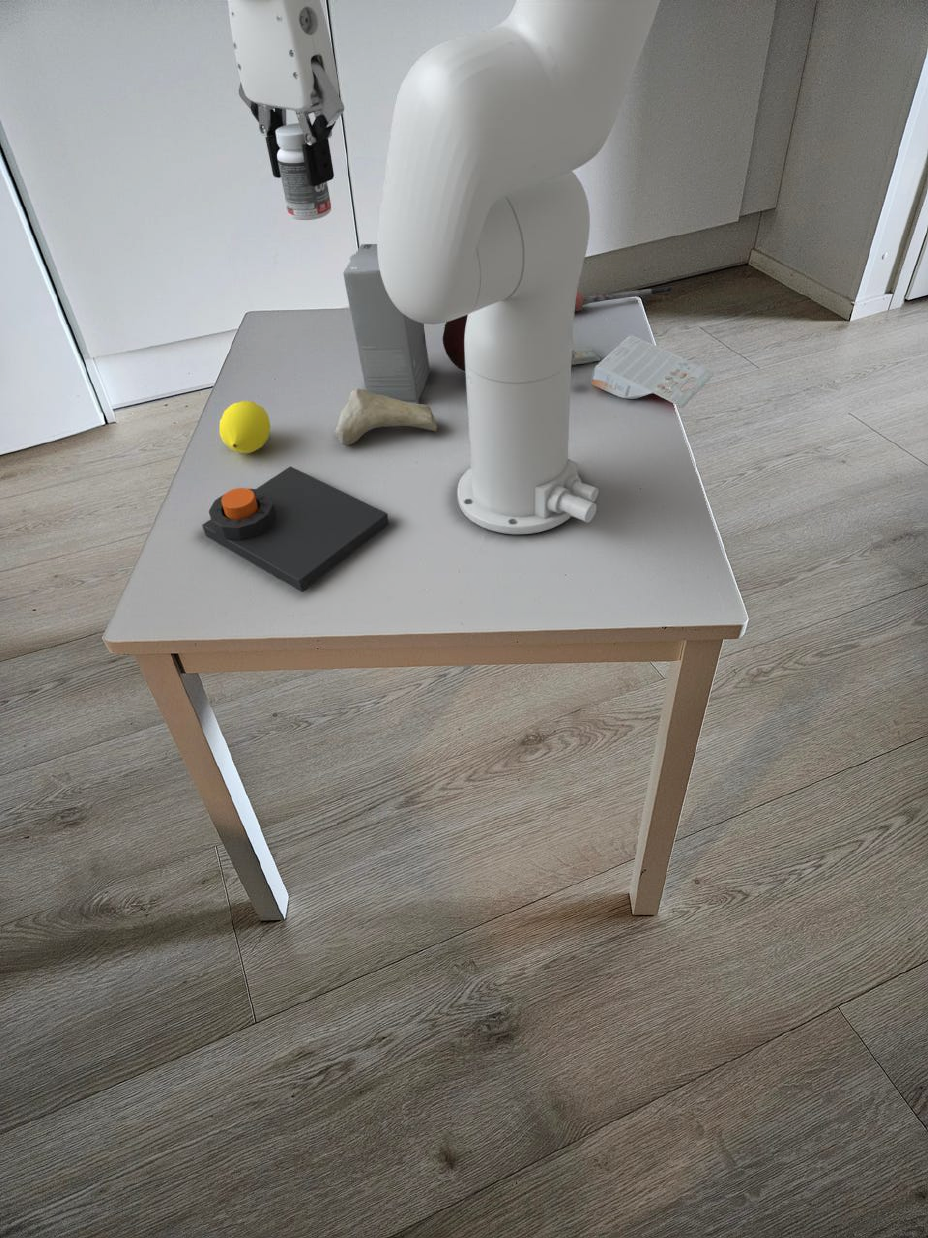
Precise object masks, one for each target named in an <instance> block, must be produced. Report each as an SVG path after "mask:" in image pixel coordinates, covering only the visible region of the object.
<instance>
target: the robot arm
mask: <svg viewBox="0 0 928 1238" xmlns="http://www.w3.org/2000/svg"><path fill="white" fill-rule="evenodd" d="M660 3H661V0H515V3H514V6H513V8H512V10H511V12H510V14H509V15H508V16H507V17H506V19H504V20H503V21H502V22H501V23H499V24H498V25H496V26H494V27H493V28H490V29H486V30H482V31H479V32H474V33H472V34H467V35H463V36H459V37H456V38H452V39H449V40H446V41H444V42H442V43H439V44H437V45H435V46H434V47H431V48H430V49H429V50H427V51H426V52H424V53H423V54H422V55H420V57H419V58H418V59H417V60H416V61H415V62H414V63H413V64H412V66H411V67H410V69H409V71H408V72H407V73H406V76H405V77H404V79H403V81H402V83H401V85H400V88H399V90H398V93H397V95H396V101H395V104H394V110H393V115H392V120H391V128H390V134H389V142H388V148H387V155H386V156H387V157H386V162H385V169H384V170H385V171H384V176H383V184H382V190H381V199H380V206H379V213H378V220H377V234H376V244H377V254H378V263H379V269H380V273H381V277H382V281H383V284H384V287H385V289H386V291H387V293H388V295H389V297H390V299H391V300H392V302H393V304H394V305H395V306H396V307H397V309H398V310H399V311H400V312H402V313H403V314H404V315H405V316H407V317H408V318H410V319H412V320H414V321H417V322H420V323H424V325H439V324H440V325H441V324H446V322H449V321H452V320H455V319H457V318H460V317H463V316H466V315H468V316H467V322H466V327H465V337H464V349H465V371H466V372H465V387H466V402H467V404H466V405H467V420H468V421H467V423H468V438H469V454H470V467H469V468H468V469H467V470H466V471H465V472H464V473H463V475H462V476H461V477H460V479H459V482H458V484H457V490H456V491H457V492H456V495H457V502H458V505H459V508H460V510H461V511H462V513H463V515H464V516H465V517H466V518H467V519H469V520H470V521H471V522H472V523H474V524H476V525H477V526H480V528H483V529H486V530H489V531H491V532H495V533H499V534H507V535H530V534H536V533H541V532H544V531H548V530H552V529H554V528H555V527H558V526H560V525H562V524H563V523H565V522H567V521H568V520H569V519H571V518H572V517H573V518H575V519H578V520H580V521H582V522H584V523H590V522H591V521H592V520H593V519H594V517H595V515H596V513H597V504H596V503H595V501H596V500H597V498H598V496H599V488H597V487H595V486H592V485H590V484H587V483H583V482H582V479H581V478H580V476H579V474H578V462H577V461H575V460H572V459H570V458H569V439H570V437H569V434H570V409H571V408H570V407H571V382H572V381H571V378H572V377H571V376H572V365H571V358H572V350H573V341H574V339H573V337H574V323H575V312H576V311H575V302H576V296H577V291H579V290H578V289H579V285H580V279H581V276H582V271H583V267H584V264H585V263H584V262H585V258H586V254H587V249H588V244H589V237H590V226H591V220H590V219H591V218H590V216H591V214H590V207H589V202H588V201H589V200H588V198H587V194H586V191H585V189H584V187H583V185H582V182H581V181H580V179H579V178H578V176H577V175H576V173H575V172H574V171H575V170H577V169H579V168H581V167H582V166H584V165H586V164H587V163H588V162H590V161H591V160H592V159H594V158H595V157H596V156H598V154H599V152H600V151H601V150H602V148H603V147H604V145H605V144H606V142H607V140H608V138H609V136H610V133H611V131H612V129H613V127H614V125H615V122H616V120H617V117H618V114H619V112H620V109H621V106H622V104H623V101H624V99H625V96H626V94H627V91H628V89H629V85H630V83H631V81H632V77H633V75H634V72H635V70H636V68H637V65H638V62H639V60H640V58H641V54H642V52H643V49H644V47H645V44H646V41H647V39H648V36H649V33H650V32H651V28H652V25H654V24H653V23H654V21H655V17H656V14H657V12H658V9H659V6H660ZM227 5H228V16H229V24H230V31H231V32H230V33H231V39H232V44H233V49H234V50H233V51H234V56H235V61H236V66H237V72H238V76H239V80H240V83H239V86H238V87H239V88H238V95H239V97H240V99H241V100H242V101H243V102H244V104H245V105H246V106H247V107H248V108H249V109H250V112H251V114H252V115H253V117H254V119H255V120H256V121H257V122H258V128H259V129H258V130H259V131H260V134H261V135H262V136H264V138H265V143H266V148H267V152H268V157H269V163H270V167H271V172H272V176H273V177H274V178H277V179H281V174H280V169H279V164H278V159H277V153H278V151H279V150H280V149H281V148H280V147H279V146H278V144H277V138H276V130H277V129H278V128H279V127H282V126H285V125H288V123H287V111H293V112H295V115H296V118H297V120H298V123H299V124H300V127H301V130H302V133H303V136H304V139H305V141H306V143H305V144H303V145H302V151H303V157H304V162H305V168H306V173H307V179H308V183H309V185H310V186H314V187H315V186H318V185H320V184H322V183H325V182H327V183H328V182H329V181H331V180H333V179H334V177H335V173H334V166H333V159H332V154H331V148H330V141H329V139H331V138H332V136H333V132H332V131H333V129H334V127H335V125H336V122H337V120H338V119H340V117H341V116H342V115H343V113H344V111H345V105H344V102H343V100H342V99H341V98H340V86H339V79H338V73H337V66H336V62H335V61H336V60H335V56H334V52H333V47H332V42H331V37H330V32H329V29H328V24H327V20H326V16H325V13H324V9H323V6H322V3H321V0H227ZM310 114H314V118H315V119H314V120H313V123H312V120H311V118H310Z"/></svg>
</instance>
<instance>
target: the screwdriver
mask: <svg viewBox="0 0 928 1238" xmlns="http://www.w3.org/2000/svg"><path fill="white" fill-rule="evenodd" d="M672 291H673V286H663V287H656V288H646V289H645V288H644V289H638V290H631V291H622V292H615V293H607V294H597V295H596V294H595V295H582V292H581V291H580V290H577V296H576V302H575V312H581V311H582V310H583V306H585V305H588V304H593V303H599V302H606V301H612V300H613V301H614V300H619V299H620V300H621V299H626V298H627V299H628V298H634V297H643V296H649V295H650V296H651V295H653V294H662V293H668V292H672Z"/></svg>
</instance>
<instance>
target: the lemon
mask: <svg viewBox="0 0 928 1238" xmlns="http://www.w3.org/2000/svg"><path fill="white" fill-rule="evenodd" d="M270 431H271V423H270V417H269V415H268V413H267V411H266V410H265V409H264V407H262V406H261V405H259V404H257V403H255V402H254V401H249V400H242V401H238V402H235V403H232V404H231V405H230V406H228V407H227V408H226V409H225V410H224V411H223V414H222V416H221V418H220V420H219V431H218V433H219V436H220V438H221V440H222V443H223V444H225V445H226V446H227V447H228V448H229V449H230V450H231V451H233V452H238V453H240V454H249V453H250V454H251V453H254V452H255V451H257V450H259V449H261V448H263V446H264V445H265V444H266V442H267V441H268V440H269V438H270Z"/></svg>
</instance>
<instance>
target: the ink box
mask: <svg viewBox="0 0 928 1238" xmlns="http://www.w3.org/2000/svg"><path fill="white" fill-rule="evenodd" d="M714 375H715V372H713V371H712V370H709V369H707V368H705V367H703V366H701V365H699V364H697V363H694V362H692V361H690V360H688V359H686V358H685V357H682V356H680V355H678V354H677V353H676V354H675V353H673V352H671V351H669V350H667V349H664V348H663V347H660V346H657V345H656V344H652V343H651V342H648V341H646V340H645V339H644V340H643V339H641V338H639V337H637V336H635V335H633V334H629V335H628V336H627V337H626V338H625V339H624V340H623V341H622V342H620V343H619V344H618V345H617V346H616V347H615V348H614V349H613V350H612V351H611V352H609V353H608V354H607V355H606V356H605V357H604V358H603V359H601V360H600V361H599V362H598V364H596V365H595V366H594V368H593V371H592V374H591V377H590V384H591V385H592V386H594V387H596V388H598V389H601V390H603V391H605V392H607V393H609V394H612V395H614V396H615V397H618V398H621V399H632V400H633V399H639V398H642V397H644V396H648V395H651V394H654V395H656V396H658V397H660V398H662V399H664V400H665V401H668V402H670V403H671V404H673V405H675V404H676V405H675V406H676V407H678V408H679V409H684V407H685V406H687V405H688V404H689V402H690V401H691V400H692V399H693V398H694V396H696V394H697V393H698V392H699V391H700V390H701V389H702V388H703V387H704V386H705V385H706V383H707V382H708V381H709V380H710V379H711V378H712V377H713V376H714ZM692 378H693V379H695V380H696V381H695V383H694V384H693V386H694V388H688V390H687V391H686V392H683V391H682V390H681V389H682V388H683V387H684V385H686V384H687V383H688V382H689V380H690V379H692ZM667 381H668V382H667ZM669 387H670V388H669Z"/></svg>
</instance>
